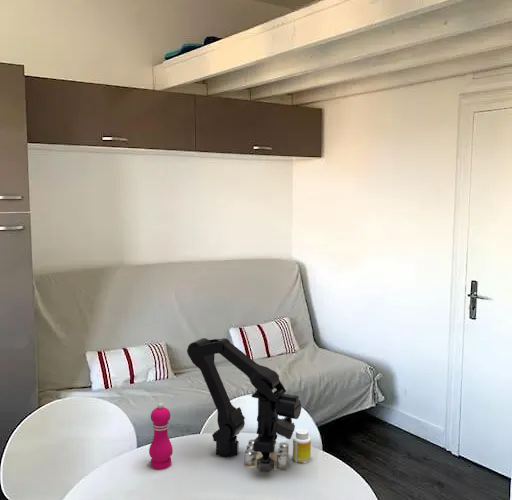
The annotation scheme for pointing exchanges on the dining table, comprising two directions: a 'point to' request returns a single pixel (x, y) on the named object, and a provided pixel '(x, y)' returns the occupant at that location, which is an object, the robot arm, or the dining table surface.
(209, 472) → the dining table surface
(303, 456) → the supplement bottle
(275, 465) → the board
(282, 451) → the spacers
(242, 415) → the robot arm
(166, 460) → the pepper mill
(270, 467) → the nut
